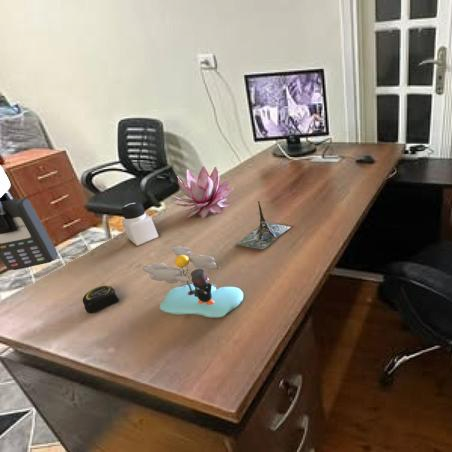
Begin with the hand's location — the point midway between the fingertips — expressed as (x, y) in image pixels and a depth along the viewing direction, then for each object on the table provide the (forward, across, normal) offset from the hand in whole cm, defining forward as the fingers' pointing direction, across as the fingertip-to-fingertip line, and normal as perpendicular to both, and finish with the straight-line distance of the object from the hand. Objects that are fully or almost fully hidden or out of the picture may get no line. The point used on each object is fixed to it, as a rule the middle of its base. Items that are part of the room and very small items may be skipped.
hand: (11, 226), depth 74 cm
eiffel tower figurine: (+24, -7, +53) cm, 59 cm away
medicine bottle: (+24, -29, +18) cm, 42 cm away
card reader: (+10, 0, 0) cm, 10 cm away
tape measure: (+24, +3, +10) cm, 26 cm away
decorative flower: (+24, -37, +40) cm, 60 cm away
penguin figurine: (+24, +16, +31) cm, 43 cm away
